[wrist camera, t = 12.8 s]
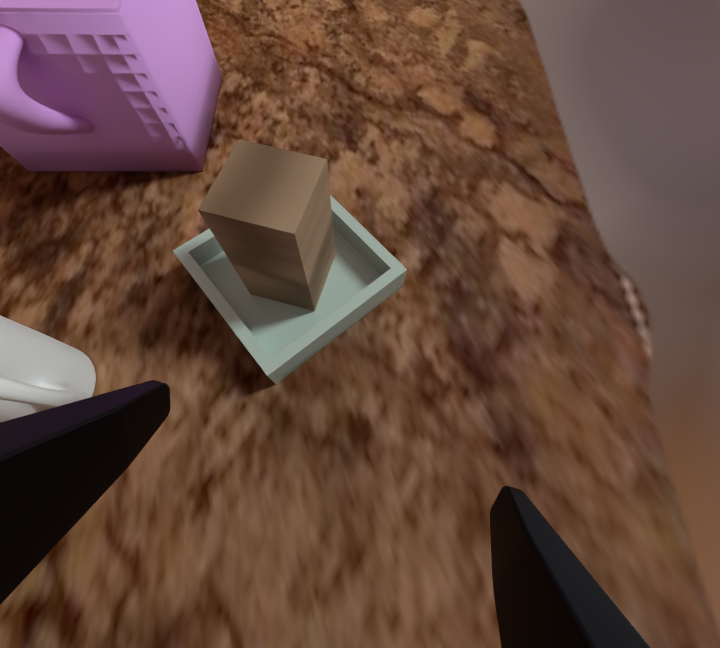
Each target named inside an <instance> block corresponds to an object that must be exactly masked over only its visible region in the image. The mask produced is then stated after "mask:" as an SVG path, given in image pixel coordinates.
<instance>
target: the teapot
mask: <svg viewBox="0 0 720 648" xmlns="http://www.w3.org/2000/svg"><path fill="white" fill-rule="evenodd" d="M221 81H222V75H221V73H220V70H219V67H218V64H217V61H216V58H215V55H214V52H213V49H212V46H211V43H210V41H209V38H208V35H207V32H206V29H205V26H204V23H203V20H202V17H201V14H200V12H199V9H198V6H197V3H196V0H0V146H1V147H2V148H3V149H4V150H5V151H6V152H7V153H8V154H10V155H11V156H12V157H13V158H14V159H15V160H16V161H17V162H19V163H20V164H21V165H22V166H23V167H24V168H25V169H27V170H28V171H29V172H203V168H204V163H205V159H206V154H207V149H208V144H209V139H210V134H211V129H212V125H213V120H214V115H215V110H216V105H217V100H218V96H219V91H220V86H221Z"/></svg>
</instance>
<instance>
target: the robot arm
mask: <svg viewBox="0 0 720 648" xmlns="http://www.w3.org/2000/svg"><path fill="white" fill-rule="evenodd" d="M169 411H170V388H169V386H168V385H167V384H166V383H162V382H159V381H155V380H152V381H148V382H144V383H140V384H137V385H133V386H130V387H126V388H122V389H119V390H115V391H112V392H108V393H105V394H101V395H97V396H94V397H90V398H87V399H83V400H79V401H76V402H72V403H69V404H65V405H61V406H58V407H54V408H51V409H47V410H43V411H40V412H36V413H33V414H29V415H25V416H22V417H18V418H15V419H11V420H7V421H4V422H0V604H1V603H2V602H3V601H4V600H5V599H6V598H7V597H8V596H9V595H10V594H11V593H12V592H13V590H14V589H15V588H16V587H17V586H18V585H19V584H20V583H21V582H22V581H23V580H24V579H25V578H26V576H27V575H28V574H29V573H30V572H31V571H32V570H33V569H34V568H35V567H36V566H37V565H38V564H39V562H40V561H41V560H42V559H43V558H44V557H45V556H46V555H47V554H48V553H49V552H50V551H51V550H52V548H53V547H54V546H55V545H56V544H57V543H58V542H59V541H60V540H61V539H62V538H63V537H64V536H65V535H66V533H67V532H68V531H69V530H70V529H71V528H72V527H73V526H74V525H75V524H76V523H77V522H78V521H79V519H80V518H81V517H82V516H83V515H84V514H85V513H86V512H87V511H88V510H89V509H90V508H91V507H92V505H93V504H94V503H95V502H96V501H97V500H98V499H99V498H100V497H101V496H102V495H103V494H104V493H105V491H106V490H107V489H108V488H109V487H110V486H111V485H112V484H113V483H114V482H115V481H116V480H117V479H118V477H119V476H120V475H121V474H122V473H123V472H124V471H125V470H126V469H127V468H128V466H129V465H130V464H131V463H132V462H133V460H134V459H135V458H136V457H137V455H138V454H139V453H140V451H141V450H142V449H143V447H144V446H145V445H146V444H147V442H148V441H149V440H150V438H151V437H152V436H153V435H154V433H155V432H156V431H157V429H158V428H159V427H160V425H161V424H162V423H163V422H164V420H165V419H166V418H167V416H168V414H169ZM490 532H491V556H492V578H493V589H494V598H495V605H496V612H497V619H498V626H499V633H500V640H501V647H502V648H650V647H649V645H648V644H647V643H646V642H645V641H644V639H643V638H642V637H641V636H640V634H639V633H638V632H637V631H636V629H635V628H634V627H633V626H632V625H631V623H630V622H629V621H628V620H627V618H626V617H625V616H624V615H623V614H622V612H621V611H620V610H619V609H618V607H617V606H616V605H615V604H614V602H613V601H612V600H611V599H610V598H609V596H608V595H607V594H606V593H605V591H604V590H603V589H602V588H601V587H600V585H599V584H598V583H597V582H596V580H595V579H594V578H593V577H592V575H591V574H590V573H589V572H588V571H587V569H586V568H585V567H584V566H583V564H582V563H581V562H580V561H579V560H578V558H577V557H576V556H575V555H574V553H573V552H572V551H571V550H570V548H569V547H568V546H567V545H566V544H565V542H564V541H563V540H562V539H561V537H560V536H559V535H558V534H557V532H556V531H555V530H554V529H553V528H552V526H551V525H550V524H549V523H548V521H547V520H546V519H545V518H544V517H543V515H542V514H541V513H540V512H539V510H538V509H537V508H536V507H535V505H534V504H533V503H532V502H531V501H530V499H529V498H528V497H527V496H526V494H525V493H524V492H523V491H522V490H520V489H516V488H513V487H510V486H504V487H503V488H502V489H501V491H500V492H499V494H498V496H497V498H496V500H495V502H494V504H493V506H492V508H491V511H490Z"/></svg>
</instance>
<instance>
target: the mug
mask: <svg viewBox="0 0 720 648" xmlns="http://www.w3.org/2000/svg"><path fill="white" fill-rule="evenodd" d="M95 383H96V374H95V369H94V366H93V364H92V362H91V360H90V359H89V358H88V357H87V356H86V355H85V354H84V353H83V352H81V351H80V350H78V349H76V348H73V347H71V346H69V345H67V344H64V343H62V342H60V341H58V340H56V339H53V338H51V337H49V336H47V335H45V334H42V333H40V332H38V331H35V330H33V329H30V328H28V327H26V326H23V325H21V324H19V323H16V322H14V321H12V320H9V319H7V318H5V317H2V316H0V422H4V421H7V420H11V419H15V418H18V417H22V416H25V415H29V414H33V413H36V412H40V411H43V410H47V409H51V408H54V407H58V406H61V405H65V404H69V403H72V402H76V401H79V400H83V399H87V398H90V397H92V395H93V392H94V389H95Z"/></svg>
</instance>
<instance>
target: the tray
mask: <svg viewBox="0 0 720 648" xmlns="http://www.w3.org/2000/svg"><path fill="white" fill-rule="evenodd" d="M330 200H331V211H332V223H333V234H334V245H335V257H334V260H333V263H332V266H331V268H330V271H329V274H328V277H327V279H326V282H325V285H324V288H323V290H322V293H321V296H320V299H319V301H318V304H317V307H316V309H315V311H312V310H308V309H304V308H301V307H297V306H293V305H289V304H286V303H282V302H278V301H275V300H271V299H267V298H263V297H260V296H256V295H252V294H250V293H249V291H248V289H247V288H246V286H245V285H244V283H243V281H242V280H241V278H240V277H239V275H238V273H237V272H236V270H235V269H234V267H233V265H232V264H231V262H230V260H229V259H228V257H227V256H226V254H225V252H224V251H223V249H222V248H221V246H220V244H219V243H218V241H217V240H216V238H215V236H214V235H213V233H212V232H211V230H210V229H208V230H206V231H205V232H203V233H201V234H200V235H198V236H196V237H195V238H193V239H191V240H190V241H188V242H186V243H185V244H183V245H181V246H180V247H178V248H176V249H175V250H173V252H174V253H175V255H176V256H177V257H178V259H179V260H180V261H181V263H182V264H183V265H184V267H185V268H186V269H187V271H188V272H189V273H190V274H191V276H192V277H193V278H194V280H195V281H196V282H197V284H198V285H199V286H200V288H201V289H202V290H203V292H204V293H205V294H206V296H207V297H208V298H209V300H210V301H211V302H212V304H213V305H214V306H215V308H216V309H217V310H218V311H219V313H220V314H221V315H222V317H223V318H224V319H225V321H226V322H227V323H228V325H229V326H230V327H231V329H232V330H233V331H234V333H235V334H236V335H237V337H238V338H239V339H240V341H241V342H242V343H243V345H244V346H245V347H246V348H247V350H248V351H249V352H250V354H251V355H252V356H253V358H254V359H255V360H256V362H257V363H258V364H259V366H260V367H261V368H262V370H263V371H264V372H265V374H266V375H267V376H268V377H269V378H270V379H271V380H272V381H273V382H274V383H275V384H277V383H279V382H280V381H281V380H282V379H284V378H285V377H286V376H288V375H289V374H290V373H291V372H293V371H294V370H295V369H297V368H298V367H299V366H301V365H302V364H303V363H304V362H306V361H307V360H308V359H310V358H311V357H312V356H313V355H315V354H316V353H317V352H319V351H320V350H321V349H322V348H324V347H325V346H326V345H328V344H329V343H330V342H331V341H333V340H334V339H335V338H337V337H338V336H339V335H340V334H342V333H343V332H344V331H346V330H347V329H348V328H350V327H351V326H352V325H353V324H355V323H356V322H357V321H359V320H360V319H361V318H362V317H364V316H365V315H366V314H368V313H369V312H370V311H371V310H373V309H374V308H375V307H377V306H378V305H379V304H380V303H382V302H383V301H384V300H386V299H387V298H388V297H389V296H391V295H392V294H393V293H395V292H396V291H397V290H399V289H400V288H401V287H402V286H403V282H404V279H405V275H406V272H407V269H406V268H405V267H404V266H403V265H402V264H401V263H400V262H399V261H398V260H397V259H396V258H395V257H394V256H393V255H392V254H391V253H389V252H388V251H387V250H386V249H385V248H384V247H383V246H382V245H381V244H380V243H379V242H378V241H377V240H376V239H375V238H374V237H373V236H372V235H371V234H370V233H369V232H368V231H367V230H366V229H365V228H364V227H363V226H362V225H361V224H360V223H359V222H358V221H357V220H356V219H355V218H353V217H352V216H351V215H350V214H349V213H348V212H347V211H346V210H345V209H344V208H343V207H342V206H341V205H340V204H339V203H338V202H337V201H336V200H335V199H334V198H333V197H332V196H331V195H330Z"/></svg>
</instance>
